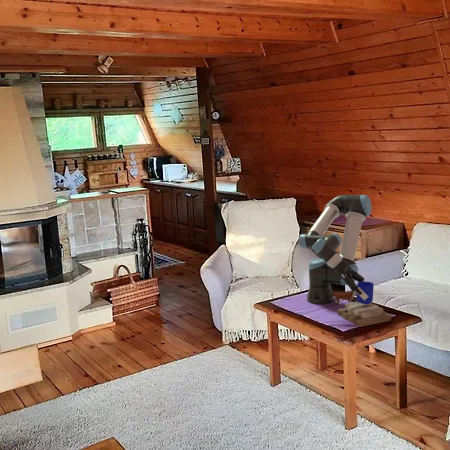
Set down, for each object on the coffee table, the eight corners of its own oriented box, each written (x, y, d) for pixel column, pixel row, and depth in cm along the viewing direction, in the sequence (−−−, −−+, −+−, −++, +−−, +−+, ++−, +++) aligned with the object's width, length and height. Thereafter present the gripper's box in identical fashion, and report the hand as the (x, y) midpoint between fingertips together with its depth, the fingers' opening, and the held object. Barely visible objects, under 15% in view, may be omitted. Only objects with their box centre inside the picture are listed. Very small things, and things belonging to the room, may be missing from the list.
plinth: (338, 315, 294) (337, 303, 293) (367, 309, 300) (367, 298, 299) (359, 326, 275) (359, 315, 274) (390, 320, 281) (390, 308, 280)
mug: (350, 305, 285) (349, 286, 283) (363, 299, 293) (362, 280, 291) (364, 308, 279) (363, 289, 277) (377, 302, 287) (376, 283, 285)
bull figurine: (358, 305, 306) (358, 290, 305) (333, 305, 309) (333, 291, 308) (358, 302, 311) (358, 288, 309) (333, 302, 314) (333, 288, 312)
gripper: (338, 262, 300) (368, 292, 296) (326, 274, 279) (358, 307, 275) (347, 253, 297) (378, 283, 293) (336, 264, 276) (369, 297, 272)
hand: (368, 294), depth 284 cm, fingers closed on mug, 11 cm apart
